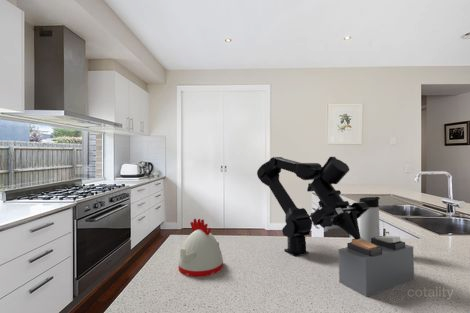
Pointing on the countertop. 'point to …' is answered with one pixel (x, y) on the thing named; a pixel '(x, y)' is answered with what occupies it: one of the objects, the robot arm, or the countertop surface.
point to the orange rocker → (363, 244)
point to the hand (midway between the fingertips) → (358, 239)
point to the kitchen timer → (200, 252)
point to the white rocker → (389, 239)
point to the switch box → (375, 266)
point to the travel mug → (370, 219)
